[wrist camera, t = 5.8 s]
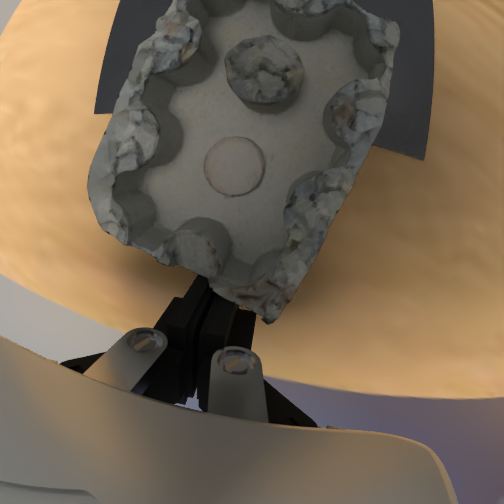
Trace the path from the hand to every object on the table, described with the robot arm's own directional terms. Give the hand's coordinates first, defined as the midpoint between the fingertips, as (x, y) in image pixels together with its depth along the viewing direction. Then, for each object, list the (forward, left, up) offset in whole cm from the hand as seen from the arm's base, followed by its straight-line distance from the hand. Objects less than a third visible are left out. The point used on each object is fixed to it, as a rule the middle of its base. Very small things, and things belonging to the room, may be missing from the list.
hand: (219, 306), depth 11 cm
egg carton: (0, -7, -1) cm, 7 cm away
